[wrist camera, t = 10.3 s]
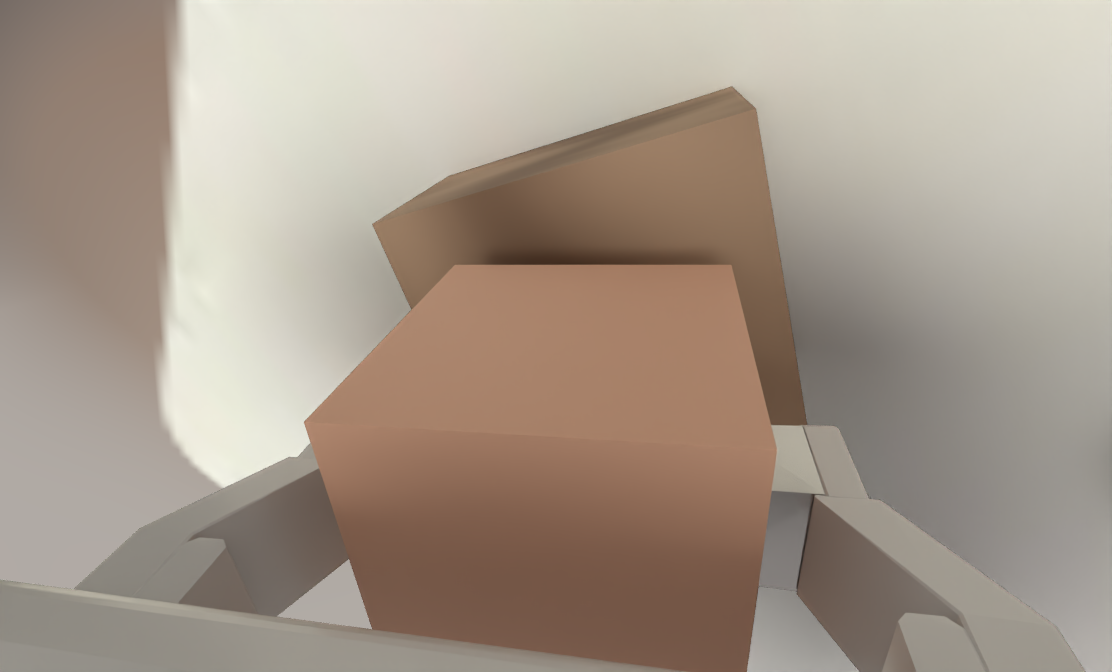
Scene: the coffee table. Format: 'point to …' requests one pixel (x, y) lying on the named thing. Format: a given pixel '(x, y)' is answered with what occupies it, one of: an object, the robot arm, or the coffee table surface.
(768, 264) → the walnut block
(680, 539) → the terracotta cube
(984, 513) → the coffee table surface
